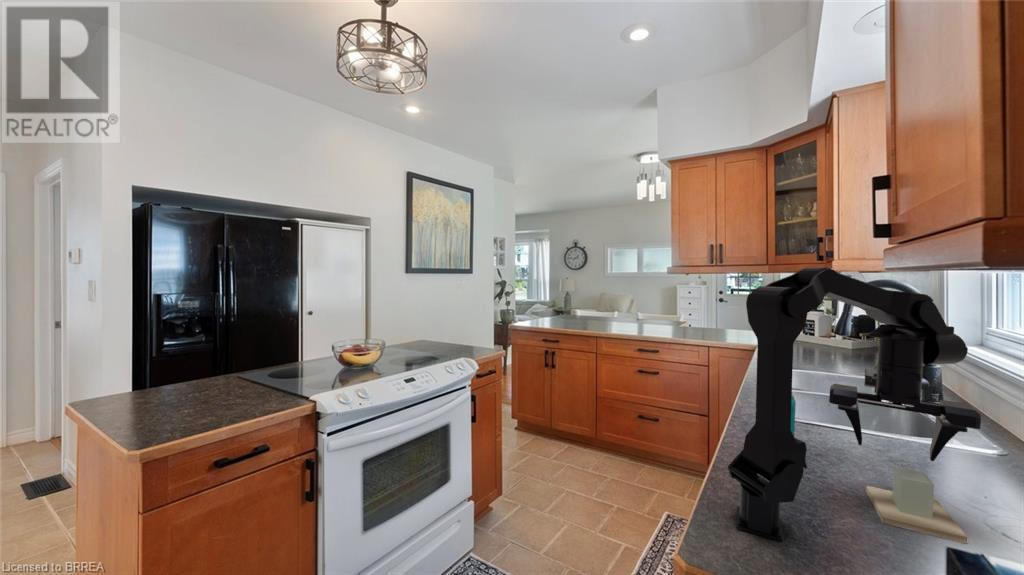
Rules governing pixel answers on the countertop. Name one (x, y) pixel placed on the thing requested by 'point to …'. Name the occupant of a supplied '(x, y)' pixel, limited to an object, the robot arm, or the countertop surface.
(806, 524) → the countertop surface
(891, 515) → the board
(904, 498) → the block
